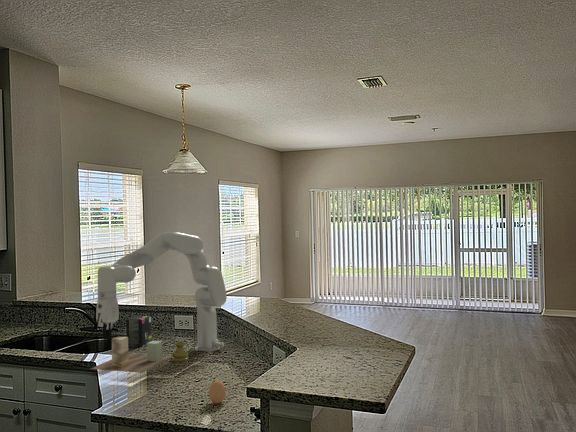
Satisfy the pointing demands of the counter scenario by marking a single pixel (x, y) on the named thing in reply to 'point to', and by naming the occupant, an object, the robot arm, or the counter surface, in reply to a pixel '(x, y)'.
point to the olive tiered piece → (180, 353)
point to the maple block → (120, 352)
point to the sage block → (154, 351)
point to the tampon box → (138, 331)
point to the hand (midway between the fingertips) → (107, 338)
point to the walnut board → (133, 364)
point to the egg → (217, 392)
